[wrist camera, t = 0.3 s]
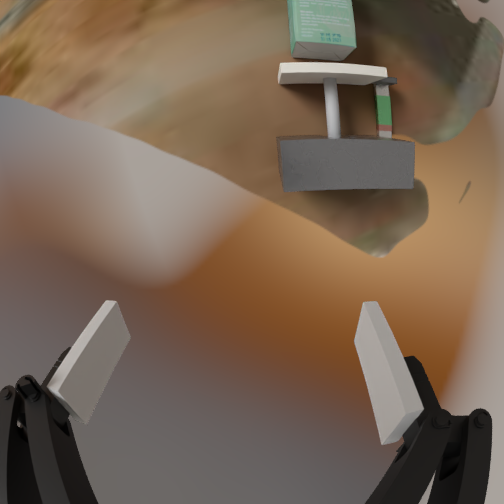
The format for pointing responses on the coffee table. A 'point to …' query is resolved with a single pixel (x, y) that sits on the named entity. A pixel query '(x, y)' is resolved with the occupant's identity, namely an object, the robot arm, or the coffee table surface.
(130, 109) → the coffee table surface
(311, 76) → the plunger
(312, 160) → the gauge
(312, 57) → the box
